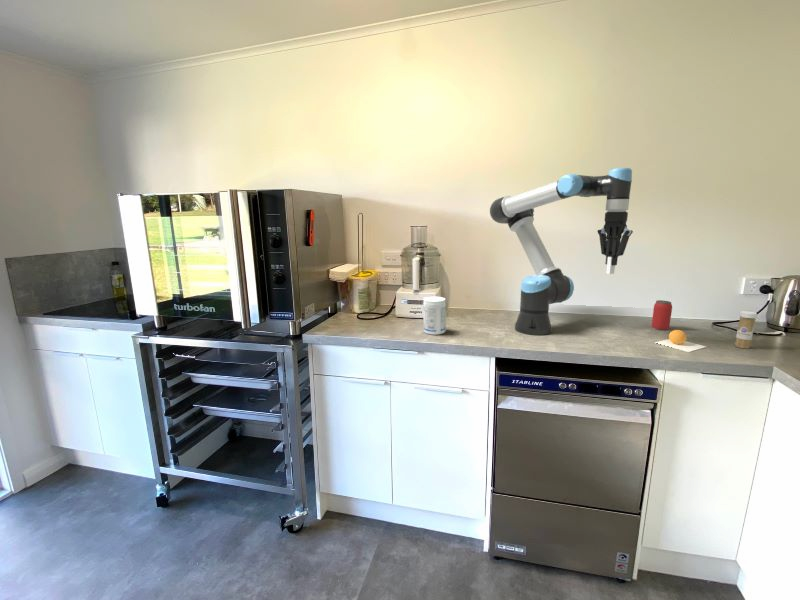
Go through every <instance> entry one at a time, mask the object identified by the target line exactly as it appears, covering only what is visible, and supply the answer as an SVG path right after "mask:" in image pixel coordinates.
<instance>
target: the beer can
mask: <svg viewBox="0 0 800 600" xmlns="http://www.w3.org/2000/svg"><path fill="white" fill-rule="evenodd" d="M652 311H653V312H652V318H651V319H652V320H651V328H653V329H654V328H655V330H658V329H660V331H666V330H670V326H671V325H670V324H671V319H672V313H673V312H672V311H673V304H672V301H669V300H660V299H659V300H656V301H655V303H654V304H653V310H652Z"/></svg>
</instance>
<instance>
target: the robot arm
mask: <svg viewBox="0 0 800 600" xmlns="http://www.w3.org/2000/svg"><path fill="white" fill-rule="evenodd" d="M632 177H633V170H632V169H631V168H630V167H616V168H611V169H610V170H609V172H608V174H607V175H596V176H595V175H582V174H576V173H571V174H568V173H567V174H565V175H562V177H560V179H557V180H556V181H552V182H550V183H545V184H544V185H541V186H539V187H535V188H532V189H530V190H527V191H525V192H521V193H518V194H515V195H512V196H511V195H505V196H502V197H499V198H496V200H494V201H493V202H492V203H491V205H490V207H489V216H490V217H491V219H492V220H493V221H494V222H495V223H498V224H503V225H504V224H505V225H506V224H507V226H508V228H509V230H510V231H511V232H514V233H515V235H516V236H517V238H518V240H519V242H520V244H521V246H522V249H523V250H524V252H525V254H526V256H527V259H528V260H529V262H530V265H531V267H532V269H533V271H534V273H535V275H534V274H533V275H528V276H526V277H524V278H522V281H521V286H520V301H519V302H520V303H519V304H520V306H519V313H518V315H517V319H516V321H515V323H514V330H515V331H516V332H518V333H521V334H525V335H530V336H531V335H533V336H541V335H543V336H544V335H550V334H551V333H552V330H553V329H552V328H553V327H552V324H551V320H550V314H549V310H550V305H551V304H557V303H559V304H560V303H563V302H566V301H568V300H569V299H570V298H571V297H572V296H573V293H574V290H575V284H574V282H573V280H572V279H571V278H570V276H567V275H564V273H563V272H562V270H561V268H559V267H556V266H555V264H554V262H553V260H552V258H551V256H550V255H549V252H548V251H547V248H546V246H545V244H544V242H543V241H542V238H541V237H540V235H539V233H538V231H537V228H536V227H535V225H534V221H535V217H534V215H535V214H534V212H535V208H539V207H542V206H544V205H545V206H546V205H548V204H551V203H555V202H557V201H561V200H565V199H568V198H571V197H575V196H576V197H582V198H590V197H606V202H605V211H606V212H605V213H604V225H603V227H602V228H601V229H598V230H597V234H598V235H599V242H600V243H599V244H600V252H601V254H602V255H603V256H605V265H606V272H605V273H606V275H611V274H612V275H614V274H615V269H616V266H617V264H618V258H619V257H622V256H624V254H625V251H626V248H627V245H628V243H629V242H628V241H629V239H630V236H631V235H632V234H633V233H634V231H633V230H630V229H629V228H628V226H627V221H628V215H629V212H628V210H629V208H630V207H629V206H630V195H631V189H632V182H633V178H632Z"/></svg>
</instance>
